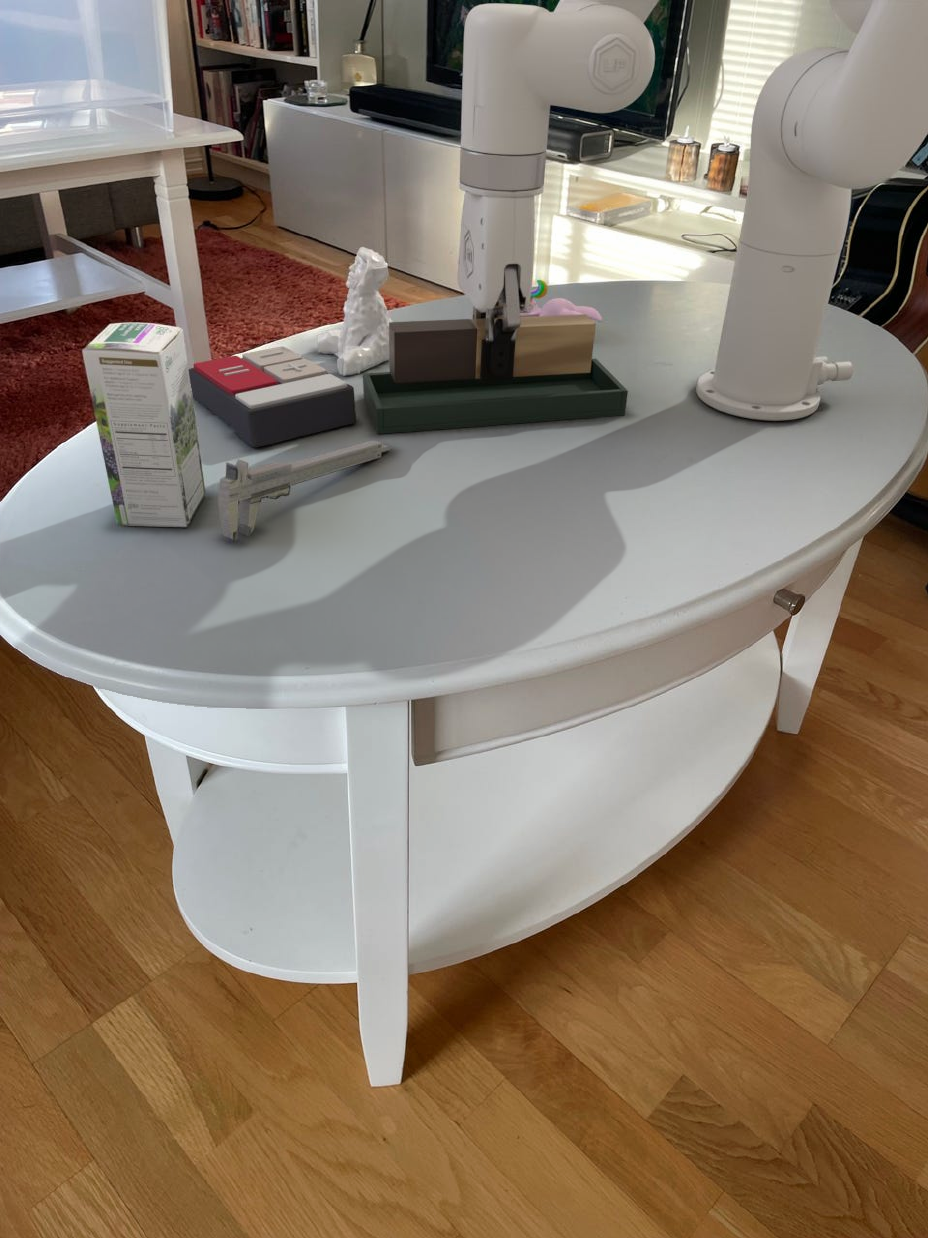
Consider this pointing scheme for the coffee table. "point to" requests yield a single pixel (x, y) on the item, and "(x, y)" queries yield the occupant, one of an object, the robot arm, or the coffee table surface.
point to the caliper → (279, 482)
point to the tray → (491, 400)
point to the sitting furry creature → (361, 318)
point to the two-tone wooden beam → (458, 345)
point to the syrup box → (146, 423)
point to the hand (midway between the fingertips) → (491, 370)
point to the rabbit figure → (555, 306)
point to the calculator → (272, 395)
